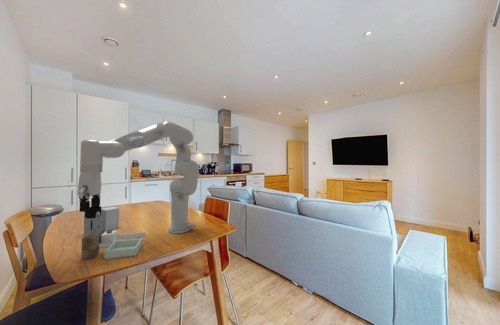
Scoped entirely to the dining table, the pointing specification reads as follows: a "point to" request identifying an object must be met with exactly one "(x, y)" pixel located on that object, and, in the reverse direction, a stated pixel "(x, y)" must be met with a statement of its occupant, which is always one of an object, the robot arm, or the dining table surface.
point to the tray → (123, 248)
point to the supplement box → (110, 218)
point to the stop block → (90, 246)
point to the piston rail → (118, 238)
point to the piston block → (109, 236)
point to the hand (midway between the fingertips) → (90, 208)
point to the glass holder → (92, 221)
